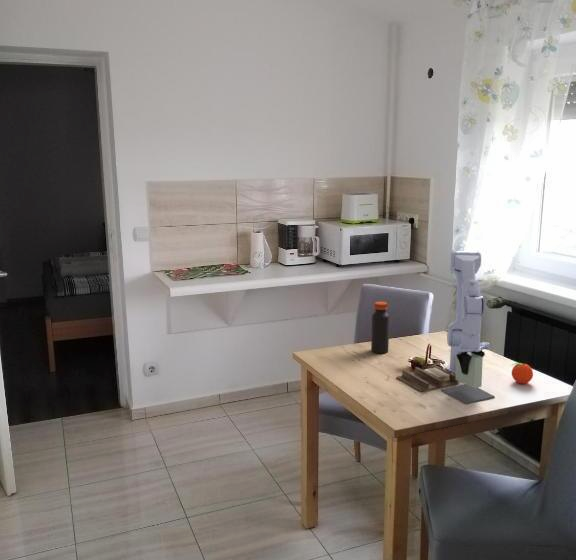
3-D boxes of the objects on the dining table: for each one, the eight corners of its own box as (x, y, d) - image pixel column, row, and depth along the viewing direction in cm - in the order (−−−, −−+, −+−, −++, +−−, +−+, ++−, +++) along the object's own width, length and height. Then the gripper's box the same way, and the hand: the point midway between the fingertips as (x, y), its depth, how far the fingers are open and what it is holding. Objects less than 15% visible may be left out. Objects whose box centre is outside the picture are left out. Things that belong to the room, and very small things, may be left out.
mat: (469, 384, 205) (469, 383, 205) (494, 397, 195) (494, 396, 194) (441, 390, 200) (441, 389, 200) (465, 404, 190) (465, 402, 190)
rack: (432, 370, 218) (433, 364, 218) (458, 384, 206) (458, 377, 205) (396, 378, 212) (396, 371, 211) (420, 392, 199) (420, 384, 199)
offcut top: (435, 370, 215) (435, 367, 214) (449, 377, 208) (449, 374, 207) (423, 372, 213) (423, 369, 212) (437, 379, 206) (438, 377, 205)
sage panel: (462, 378, 201) (463, 349, 199) (481, 386, 193) (482, 357, 191) (455, 379, 200) (456, 351, 198) (474, 388, 192) (475, 358, 190)
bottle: (380, 355, 235) (382, 306, 231) (367, 351, 240) (368, 302, 235) (391, 351, 239) (393, 303, 235) (378, 347, 244) (379, 300, 240)
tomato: (505, 383, 206) (507, 364, 204) (509, 377, 212) (511, 358, 210) (530, 388, 202) (532, 368, 200) (533, 381, 208) (535, 362, 206)
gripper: (461, 339, 186) (459, 380, 189) (497, 333, 192) (494, 373, 195) (447, 333, 193) (445, 373, 196) (482, 327, 199) (479, 366, 201)
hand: (468, 372), depth 196 cm, fingers closed on sage panel, 3 cm apart
